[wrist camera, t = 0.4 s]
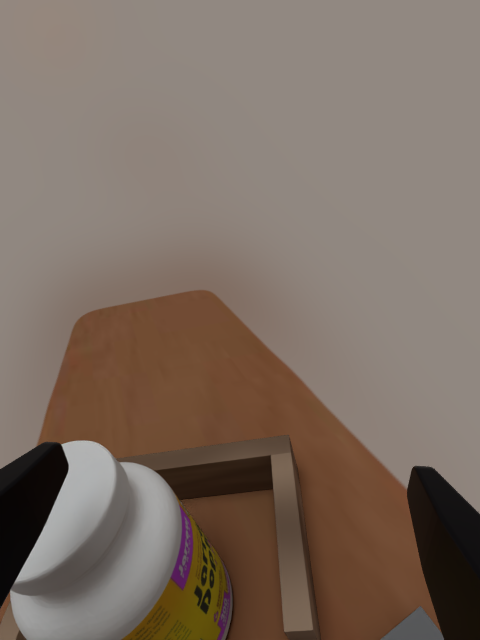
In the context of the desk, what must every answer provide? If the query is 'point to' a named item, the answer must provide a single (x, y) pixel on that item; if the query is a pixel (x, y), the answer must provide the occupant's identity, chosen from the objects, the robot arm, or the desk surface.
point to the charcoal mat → (415, 628)
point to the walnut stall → (235, 477)
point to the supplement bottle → (120, 561)
